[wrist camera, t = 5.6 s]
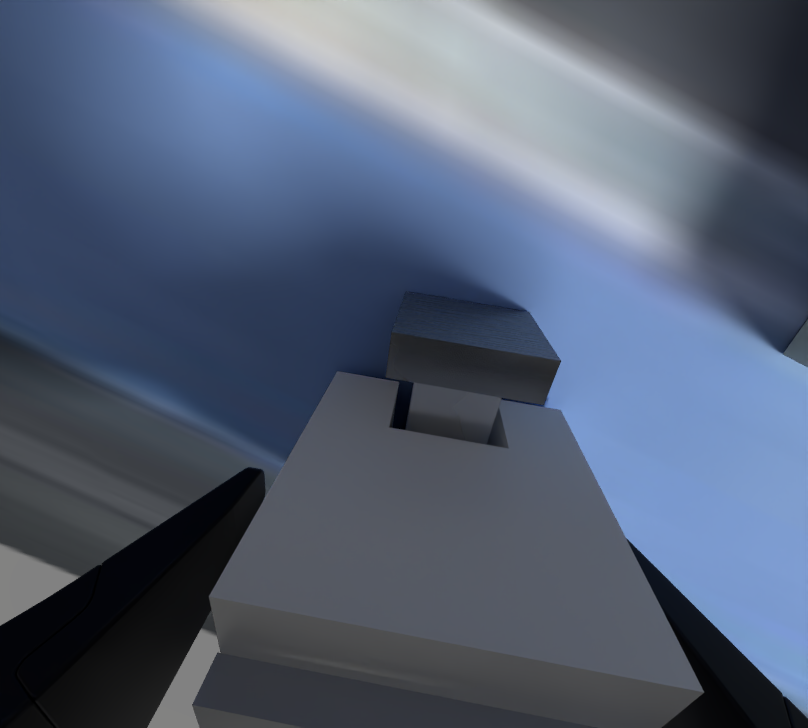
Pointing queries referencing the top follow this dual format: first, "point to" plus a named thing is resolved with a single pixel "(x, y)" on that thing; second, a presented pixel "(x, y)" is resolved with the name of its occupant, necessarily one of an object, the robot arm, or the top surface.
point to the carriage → (437, 585)
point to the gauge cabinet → (799, 346)
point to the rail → (466, 363)
